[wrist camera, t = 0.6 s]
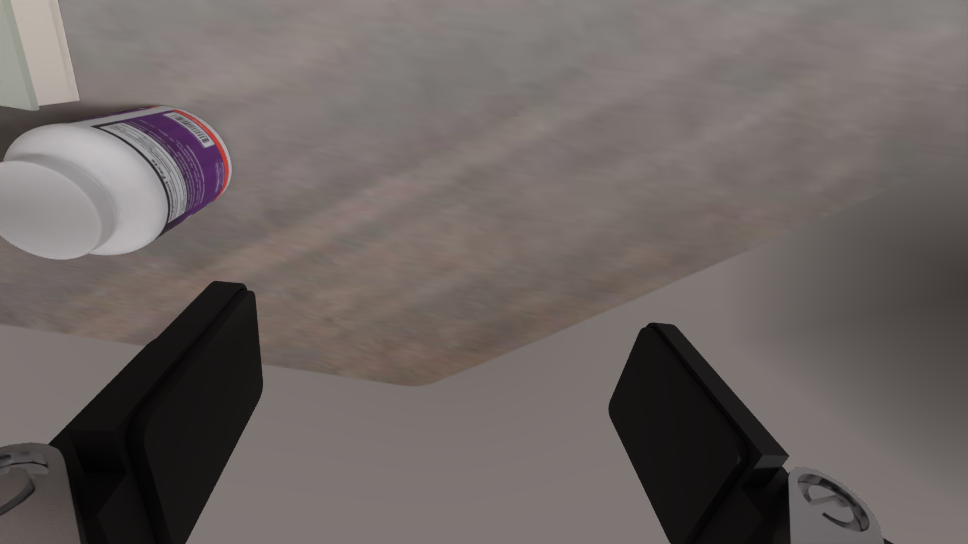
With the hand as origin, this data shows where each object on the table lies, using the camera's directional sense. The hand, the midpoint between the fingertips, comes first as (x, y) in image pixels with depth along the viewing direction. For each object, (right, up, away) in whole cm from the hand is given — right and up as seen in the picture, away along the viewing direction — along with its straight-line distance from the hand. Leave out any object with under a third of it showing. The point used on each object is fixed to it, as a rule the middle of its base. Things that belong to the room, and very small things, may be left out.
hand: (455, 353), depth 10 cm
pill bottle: (-24, +12, +24) cm, 36 cm away
